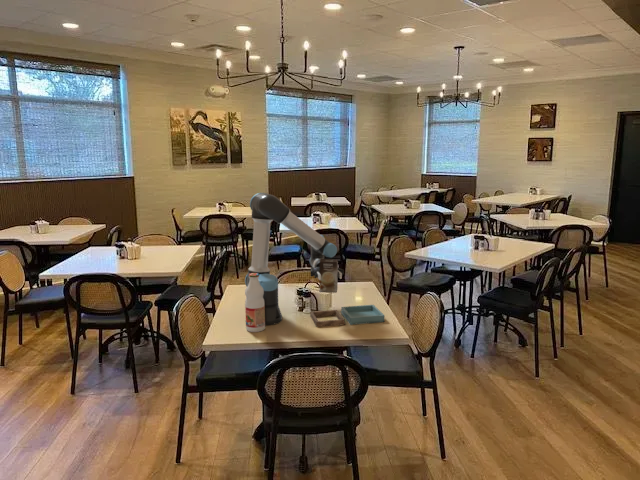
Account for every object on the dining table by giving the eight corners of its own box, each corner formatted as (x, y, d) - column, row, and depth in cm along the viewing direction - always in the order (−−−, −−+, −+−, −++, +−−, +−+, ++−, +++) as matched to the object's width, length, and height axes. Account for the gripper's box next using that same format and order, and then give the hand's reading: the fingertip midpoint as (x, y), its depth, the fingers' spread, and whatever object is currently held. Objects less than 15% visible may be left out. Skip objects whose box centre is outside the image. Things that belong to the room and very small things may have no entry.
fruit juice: (265, 332, 242) (263, 276, 236) (245, 332, 241) (243, 276, 236) (265, 325, 251) (263, 271, 246) (246, 326, 250) (244, 271, 245)
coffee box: (319, 292, 252) (318, 261, 249) (320, 288, 258) (320, 258, 255) (337, 292, 251) (337, 261, 248) (338, 289, 257) (337, 259, 254)
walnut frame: (316, 326, 248) (316, 322, 247) (310, 316, 264) (310, 311, 263) (344, 324, 251) (344, 319, 250) (336, 314, 266) (336, 309, 266)
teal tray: (350, 324, 251) (350, 318, 250) (341, 313, 268) (341, 307, 267) (384, 321, 254) (384, 315, 254) (373, 310, 272) (373, 304, 271)
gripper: (341, 271, 273) (352, 282, 252) (300, 274, 269) (308, 285, 247) (341, 258, 272) (352, 268, 251) (300, 260, 267) (308, 270, 246)
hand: (330, 276), depth 249 cm, fingers closed on coffee box, 10 cm apart
